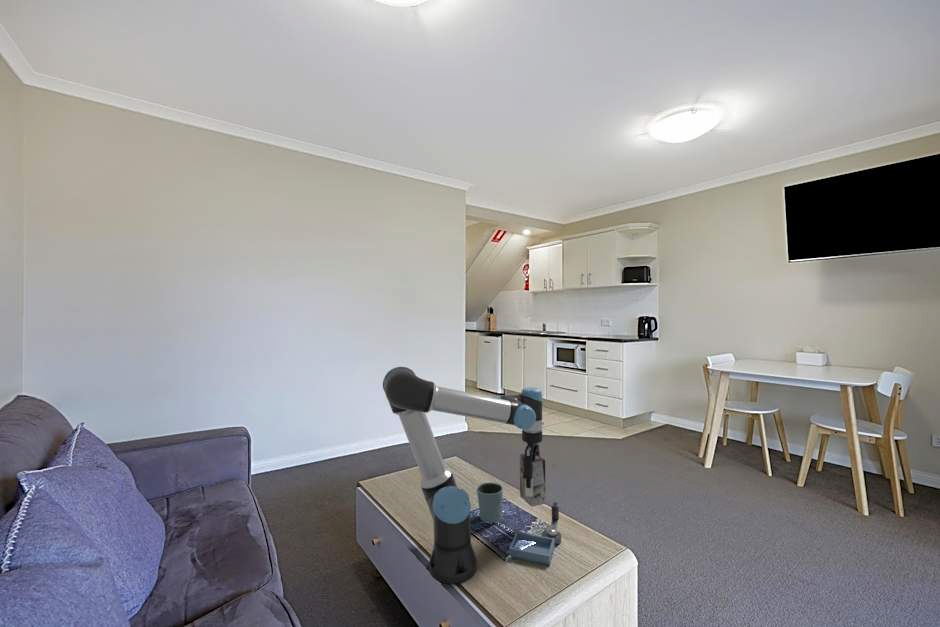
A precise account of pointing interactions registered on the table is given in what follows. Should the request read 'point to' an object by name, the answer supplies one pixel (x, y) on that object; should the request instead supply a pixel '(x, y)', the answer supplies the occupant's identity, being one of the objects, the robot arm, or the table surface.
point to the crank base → (557, 538)
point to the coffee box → (534, 481)
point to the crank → (553, 521)
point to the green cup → (490, 502)
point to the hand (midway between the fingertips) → (532, 489)
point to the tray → (533, 549)
